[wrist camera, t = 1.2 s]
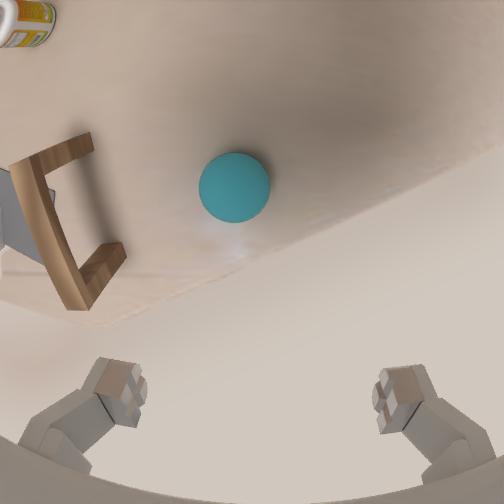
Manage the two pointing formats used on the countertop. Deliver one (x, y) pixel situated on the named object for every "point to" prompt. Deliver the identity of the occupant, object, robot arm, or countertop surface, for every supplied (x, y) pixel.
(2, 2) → the supplement bottle
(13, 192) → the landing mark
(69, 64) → the countertop surface
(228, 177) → the ball
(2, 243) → the wall
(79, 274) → the bridge
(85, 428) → the robot arm
